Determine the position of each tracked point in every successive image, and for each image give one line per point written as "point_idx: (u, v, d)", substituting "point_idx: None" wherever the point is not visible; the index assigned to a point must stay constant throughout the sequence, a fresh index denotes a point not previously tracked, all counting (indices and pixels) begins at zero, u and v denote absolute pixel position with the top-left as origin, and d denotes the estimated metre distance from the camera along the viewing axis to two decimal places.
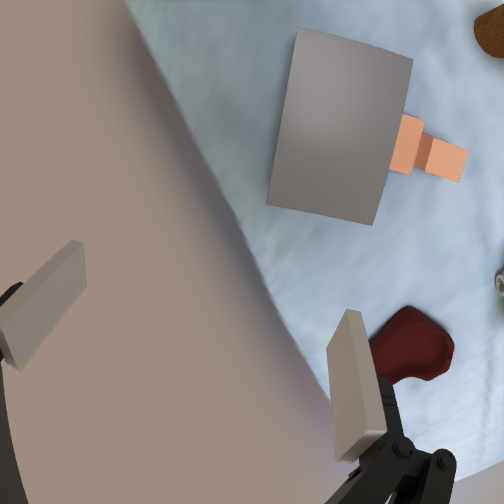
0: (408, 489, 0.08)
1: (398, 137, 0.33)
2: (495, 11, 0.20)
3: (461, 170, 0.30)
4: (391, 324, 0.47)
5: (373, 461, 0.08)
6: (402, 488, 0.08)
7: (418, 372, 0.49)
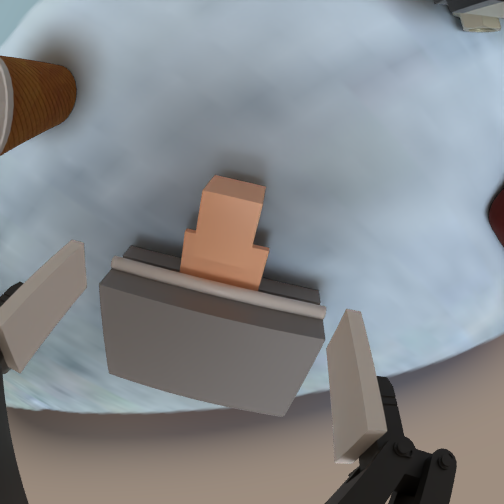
0: (408, 489, 0.08)
1: (214, 269, 0.27)
2: None
3: (239, 201, 0.21)
4: (503, 245, 0.25)
5: (373, 461, 0.08)
6: (402, 488, 0.08)
7: None
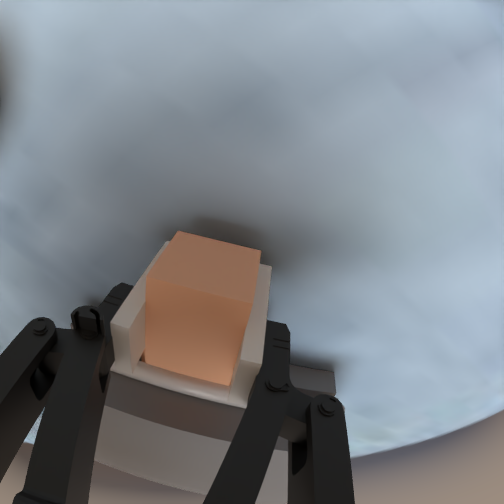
0: (294, 436, 0.10)
1: None
2: None
3: (210, 298, 0.11)
4: None
5: (249, 403, 0.09)
6: (286, 433, 0.10)
7: None
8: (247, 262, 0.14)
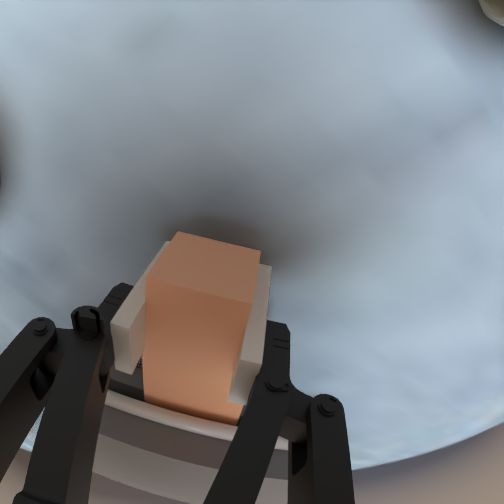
0: (294, 436, 0.10)
1: None
2: None
3: (209, 298, 0.11)
4: None
5: (248, 403, 0.09)
6: (286, 433, 0.10)
7: None
8: (247, 262, 0.14)
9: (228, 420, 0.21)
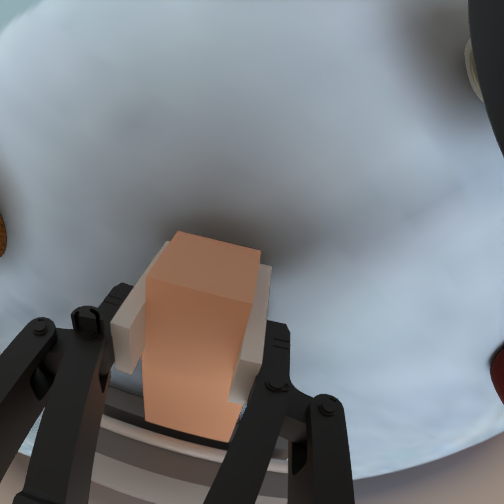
0: (294, 436, 0.10)
1: None
2: None
3: (210, 298, 0.11)
4: None
5: (248, 403, 0.09)
6: (286, 433, 0.10)
7: None
8: (247, 262, 0.14)
9: (228, 420, 0.21)
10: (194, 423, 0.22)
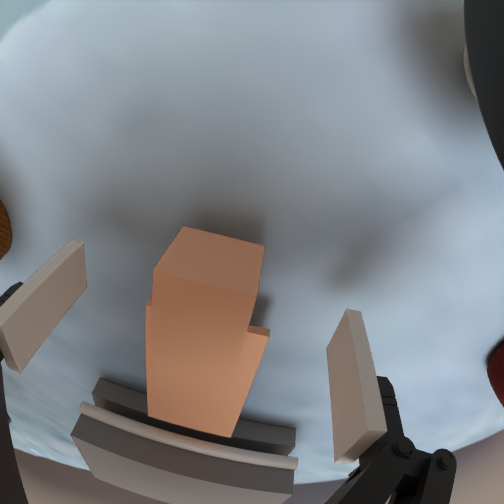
0: (408, 489, 0.08)
1: None
2: None
3: (215, 290, 0.12)
4: None
5: (373, 461, 0.08)
6: (402, 488, 0.08)
7: None
8: (251, 256, 0.14)
9: (230, 415, 0.21)
10: (197, 418, 0.22)
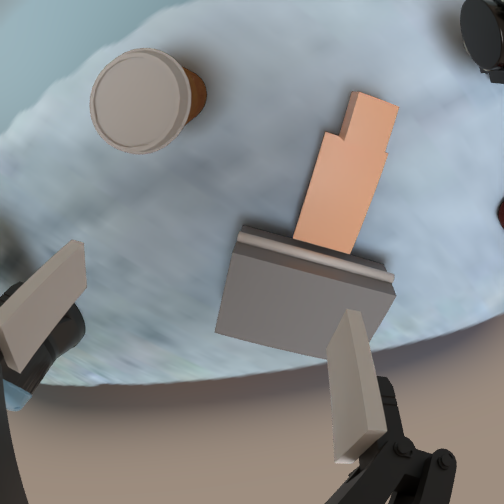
0: (408, 489, 0.08)
1: (344, 166, 0.32)
2: None
3: (383, 103, 0.25)
4: None
5: (373, 461, 0.08)
6: (402, 488, 0.08)
7: None
8: None
9: (356, 225, 0.35)
10: (331, 232, 0.36)
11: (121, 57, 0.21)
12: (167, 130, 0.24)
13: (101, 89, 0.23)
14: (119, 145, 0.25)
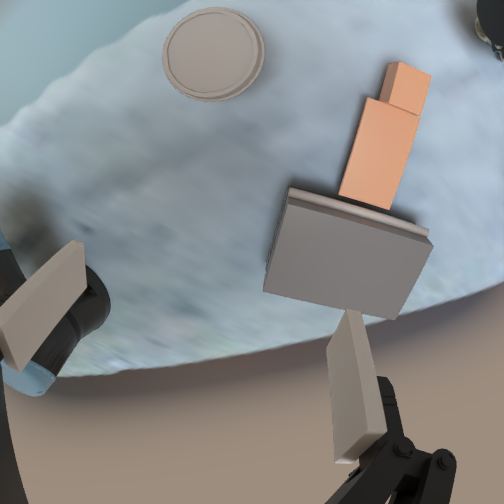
0: (408, 489, 0.08)
1: (384, 127, 0.33)
2: None
3: (419, 71, 0.27)
4: None
5: (373, 461, 0.08)
6: (402, 488, 0.08)
7: None
8: None
9: (394, 182, 0.36)
10: (373, 189, 0.37)
11: (199, 12, 0.22)
12: (244, 78, 0.25)
13: (175, 40, 0.24)
14: (192, 91, 0.26)
